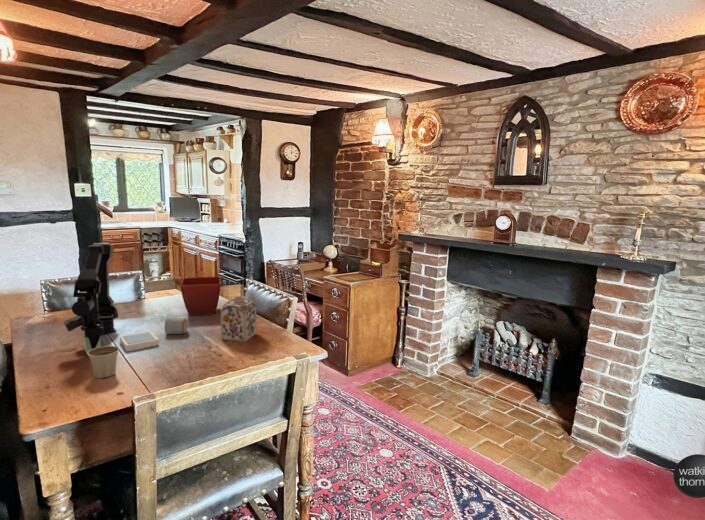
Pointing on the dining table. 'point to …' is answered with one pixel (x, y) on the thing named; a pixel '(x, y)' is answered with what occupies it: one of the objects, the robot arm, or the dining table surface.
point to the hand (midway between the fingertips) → (92, 346)
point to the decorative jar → (238, 320)
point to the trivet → (139, 341)
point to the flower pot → (103, 360)
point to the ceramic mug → (175, 325)
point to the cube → (87, 344)
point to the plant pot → (201, 294)
